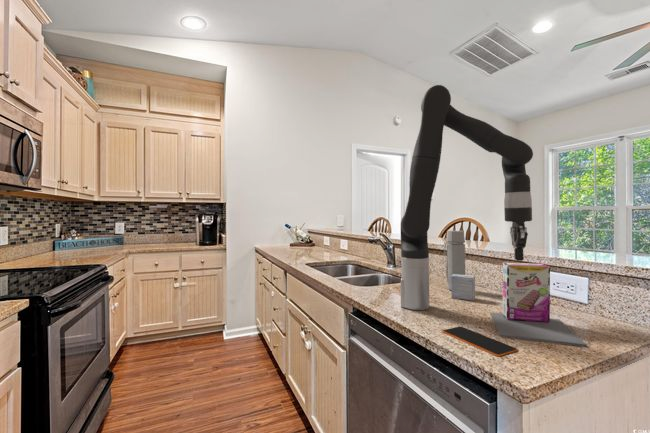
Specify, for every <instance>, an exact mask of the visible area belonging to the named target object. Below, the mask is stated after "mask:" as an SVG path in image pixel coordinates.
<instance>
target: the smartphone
mask: <svg viewBox="0 0 650 433" xmlns="http://www.w3.org/2000/svg"><path fill="white" fill-rule="evenodd" d="M441 332H442V333H443V334H445V335H447V336H450V337H453V338H454V339H457V340H458V341H461V342H463V343H466V344H468V345H470V346H472V347H474V348H477V349H479V350H481V351H484V352H485V353H488V354H490V355H493V356H495V357H497V358H500V357H503V356H504V357H505V356H507V355H511V354H513V353H517V352H519V349H518V348H517V347H514V346H511V345H510V344H507V343H504V342H502V341H499V340H497V339H494V338H491V337H489V336H486V335H484V334H481V333H479V332H476V331H473V330H472V329H469V328H466V327H463V326H456V327H451V328H448V329H443V330H442V331H441Z"/></svg>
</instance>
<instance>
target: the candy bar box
mask: <svg viewBox="0 0 650 433" xmlns="http://www.w3.org/2000/svg"><path fill="white" fill-rule="evenodd" d="M550 290H551V267H550V266H549V265H547V264H544V263H533V262H532V263H527V262H526V263H525V262H502V314H503V316H504V317H505V318H506V319H507V320H520V321H535V322H550V318H551V317H550V316H551V315H550V314H551V312H550V311H551V309H550V307H551V304H550V302H551V294H550V293H551V292H550Z"/></svg>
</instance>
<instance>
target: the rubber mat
mask: <svg viewBox="0 0 650 433" xmlns="http://www.w3.org/2000/svg"><path fill="white" fill-rule="evenodd" d="M490 317H491V319H492V321H493V323H494V324H493V325H494V326H495V329H496V331H497V332H498V335H499V337H501V338H508V339H515V340H517V339H518V340H525V341H532V342H541V343H550V344H559V345H564V346H565V345H566V346H573V347H584V348H588V344H587V343H586V342H585V341H583V339H581V338H580V337H579V336H578V335H577V334H576V333H575V332H574V331H572V329H571V328H569V327H568V326H567V325H566V324H565V323H564V322H563V321H562V320H561V319H559V318H551V317H550V322H535V321H520V320H507V319H506V318H505V317H504V316H503V313H499V312H490Z"/></svg>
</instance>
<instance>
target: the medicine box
mask: <svg viewBox="0 0 650 433" xmlns="http://www.w3.org/2000/svg"><path fill="white" fill-rule="evenodd" d="M450 291H451V292H450V293H451V295H450V297H451V299H459V300H465V301H475V300H476V277H475V275H469V274H465V275H459V274H453V275H452V276H451V290H450Z"/></svg>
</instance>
